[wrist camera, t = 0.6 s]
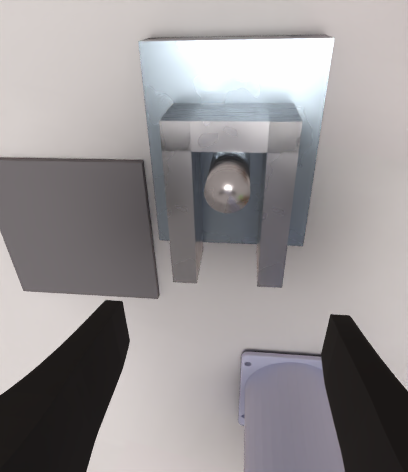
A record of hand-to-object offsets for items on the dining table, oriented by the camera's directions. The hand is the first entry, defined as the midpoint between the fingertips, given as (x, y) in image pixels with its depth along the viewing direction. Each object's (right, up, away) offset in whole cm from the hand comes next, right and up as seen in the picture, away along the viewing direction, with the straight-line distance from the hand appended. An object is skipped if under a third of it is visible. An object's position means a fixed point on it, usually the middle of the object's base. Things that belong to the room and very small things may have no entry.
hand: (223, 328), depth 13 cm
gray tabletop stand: (+1, +6, +6) cm, 8 cm away
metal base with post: (+1, +8, +6) cm, 10 cm away
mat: (-9, +3, +11) cm, 14 cm away
